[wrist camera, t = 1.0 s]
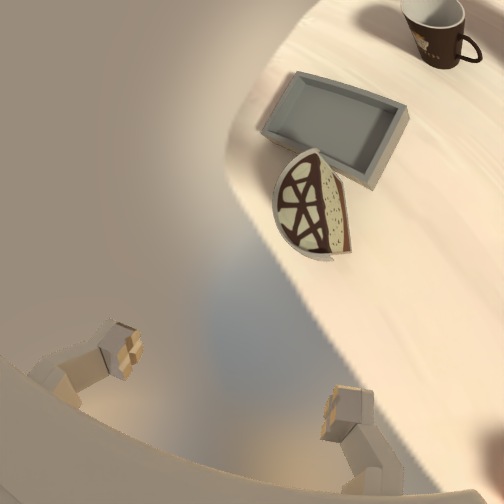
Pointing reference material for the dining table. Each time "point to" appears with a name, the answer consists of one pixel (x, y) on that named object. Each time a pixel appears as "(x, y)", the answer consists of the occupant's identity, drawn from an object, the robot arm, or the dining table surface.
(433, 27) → the coffee mug
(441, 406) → the dining table surface
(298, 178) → the ice cream cake half
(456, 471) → the dining table surface
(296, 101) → the bin
